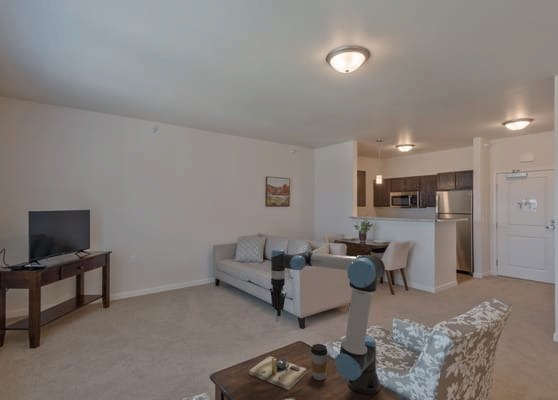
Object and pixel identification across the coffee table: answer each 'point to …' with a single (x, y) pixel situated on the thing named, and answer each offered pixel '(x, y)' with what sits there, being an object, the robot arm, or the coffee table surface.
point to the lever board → (278, 373)
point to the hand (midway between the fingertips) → (277, 321)
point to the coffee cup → (319, 361)
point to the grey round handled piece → (278, 365)
